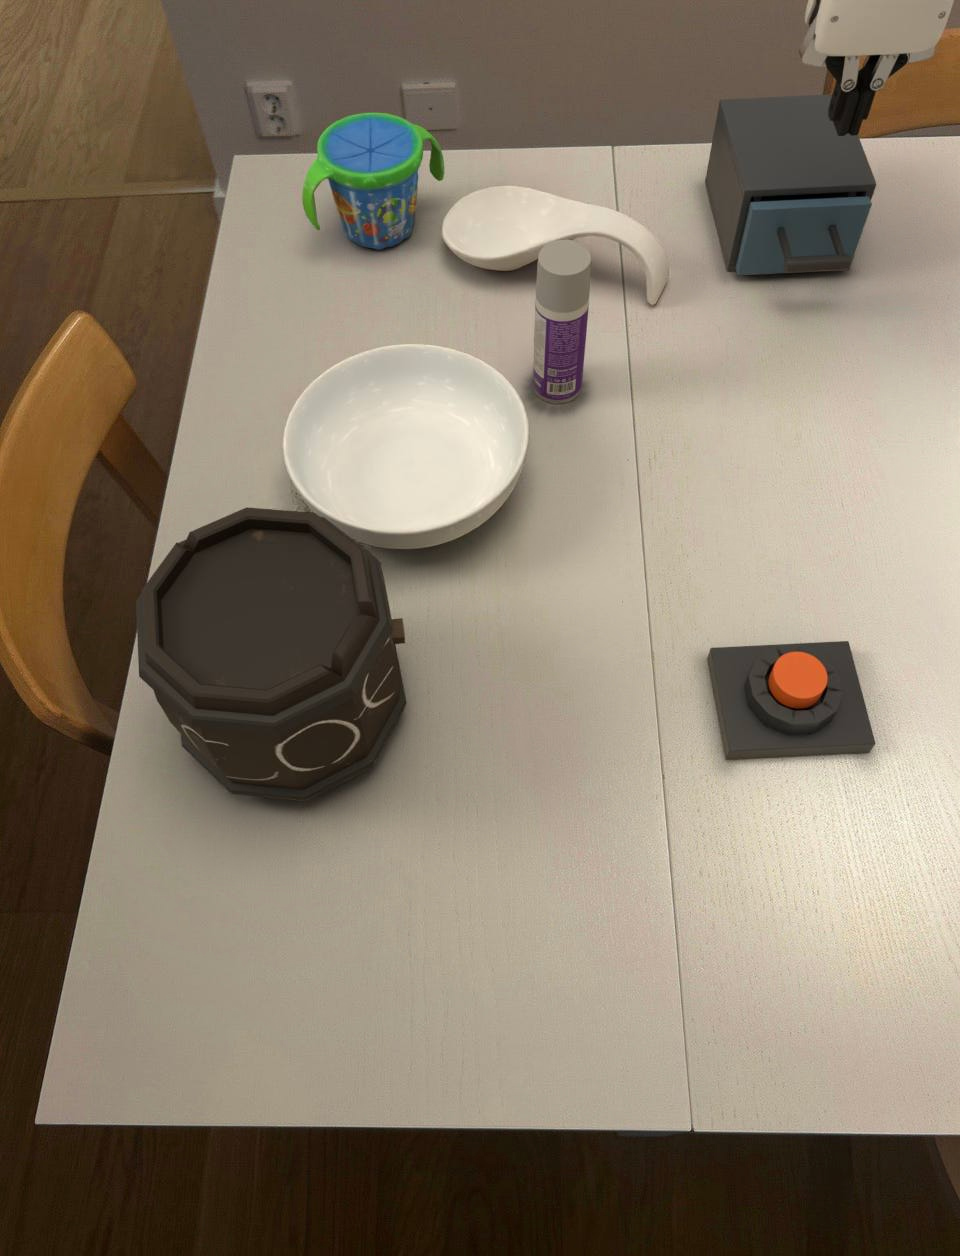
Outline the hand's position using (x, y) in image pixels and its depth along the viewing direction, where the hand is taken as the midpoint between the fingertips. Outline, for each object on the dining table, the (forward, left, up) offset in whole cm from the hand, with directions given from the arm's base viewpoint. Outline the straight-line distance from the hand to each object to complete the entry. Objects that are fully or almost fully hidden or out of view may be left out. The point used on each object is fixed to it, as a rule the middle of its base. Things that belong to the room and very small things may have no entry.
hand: (844, 125), depth 91 cm
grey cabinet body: (0, -11, -19) cm, 22 cm away
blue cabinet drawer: (0, -6, -18) cm, 19 cm away
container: (+25, +11, -19) cm, 33 cm away
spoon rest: (+24, -6, -19) cm, 31 cm away
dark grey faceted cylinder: (+48, +44, -19) cm, 67 cm away
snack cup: (+42, -13, -19) cm, 48 cm away
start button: (+10, +46, -15) cm, 49 cm away
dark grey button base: (+10, +46, -19) cm, 50 cm away
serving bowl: (+39, +22, -19) cm, 48 cm away
